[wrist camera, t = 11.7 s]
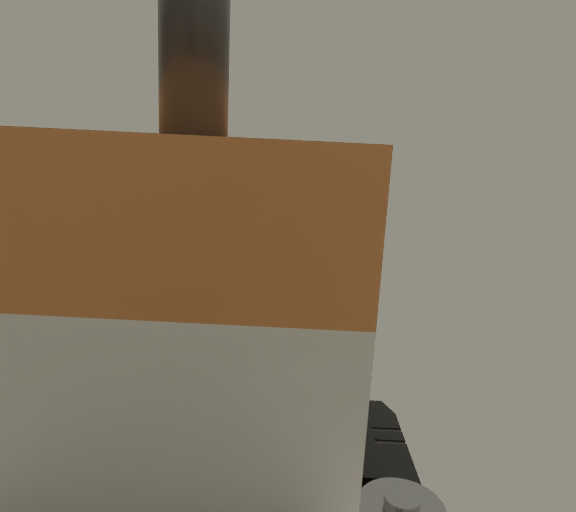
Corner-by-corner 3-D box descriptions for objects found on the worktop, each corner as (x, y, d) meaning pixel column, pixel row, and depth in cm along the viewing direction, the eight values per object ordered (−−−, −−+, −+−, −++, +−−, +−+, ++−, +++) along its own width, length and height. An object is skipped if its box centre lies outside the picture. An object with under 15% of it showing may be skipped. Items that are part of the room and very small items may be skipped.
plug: (3, 1012, 8) (-154, -303, 4) (112, 686, 13) (85, -67, 9) (312, 1030, 8) (431, -275, 4) (305, 696, 13) (359, -54, 9)
